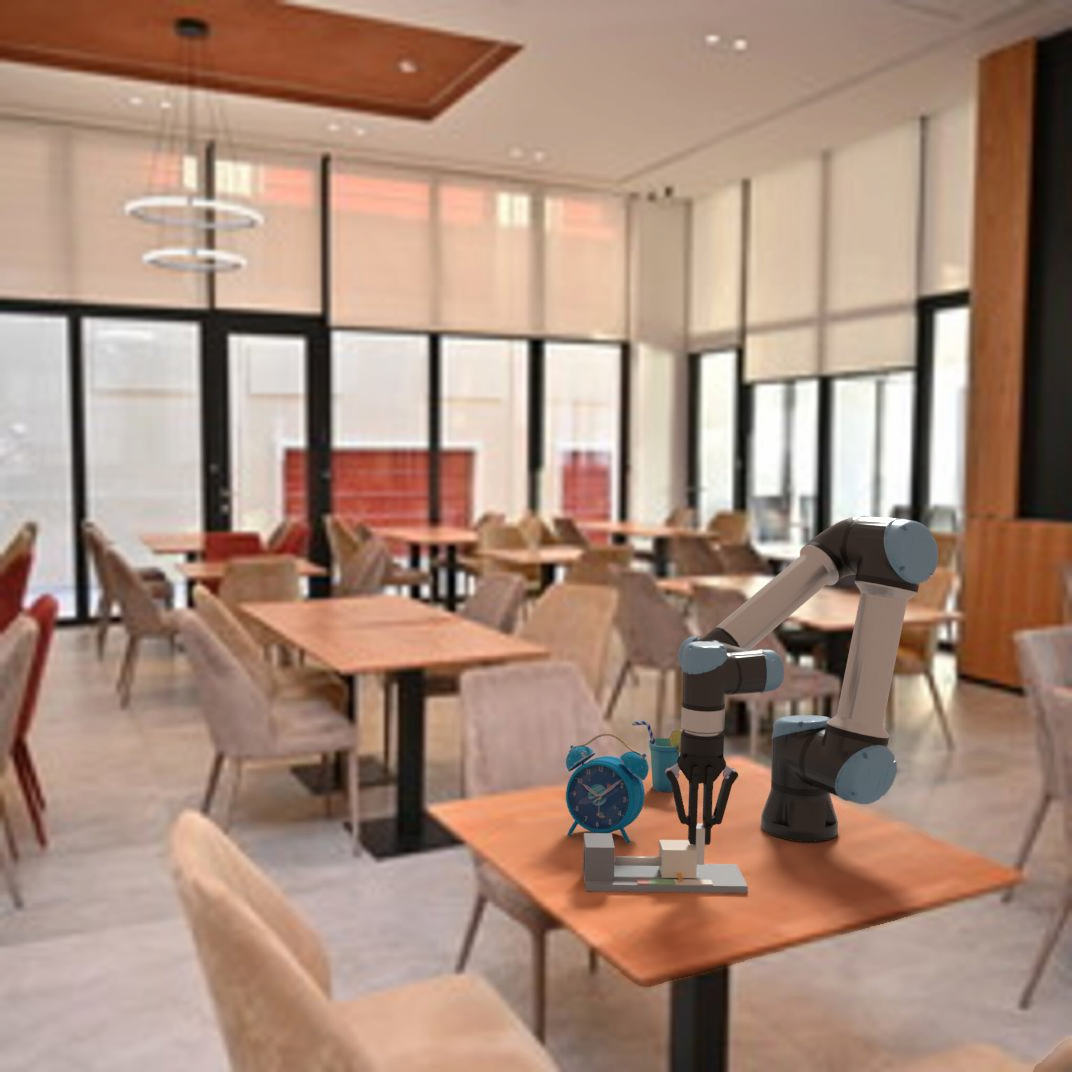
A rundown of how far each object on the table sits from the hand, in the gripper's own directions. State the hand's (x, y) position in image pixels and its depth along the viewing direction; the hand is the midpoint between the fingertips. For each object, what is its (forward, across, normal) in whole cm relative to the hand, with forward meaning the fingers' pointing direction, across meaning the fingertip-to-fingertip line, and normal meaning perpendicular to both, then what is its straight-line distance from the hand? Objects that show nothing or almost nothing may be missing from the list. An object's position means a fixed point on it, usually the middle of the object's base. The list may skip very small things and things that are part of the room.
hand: (698, 861), depth 188 cm
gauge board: (+4, +6, 0) cm, 7 cm away
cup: (+4, 0, -53) cm, 53 cm away
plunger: (+2, +8, +1) cm, 8 cm away
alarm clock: (+4, +15, -22) cm, 27 cm away
